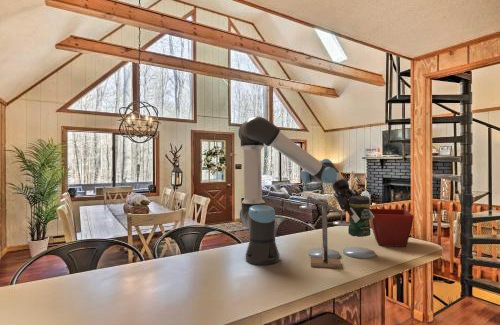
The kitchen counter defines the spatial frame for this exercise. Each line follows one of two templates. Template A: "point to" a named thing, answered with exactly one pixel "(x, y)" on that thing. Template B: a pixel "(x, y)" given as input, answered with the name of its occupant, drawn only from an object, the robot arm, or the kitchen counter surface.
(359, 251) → the right dish
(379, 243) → the plant pot
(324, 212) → the balance
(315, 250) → the left dish
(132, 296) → the kitchen counter surface
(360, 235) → the coffee jar
